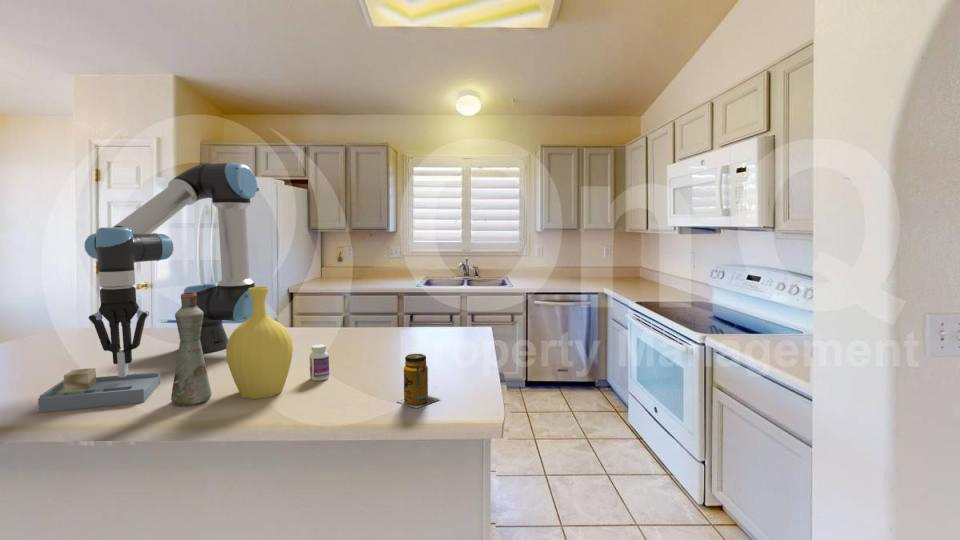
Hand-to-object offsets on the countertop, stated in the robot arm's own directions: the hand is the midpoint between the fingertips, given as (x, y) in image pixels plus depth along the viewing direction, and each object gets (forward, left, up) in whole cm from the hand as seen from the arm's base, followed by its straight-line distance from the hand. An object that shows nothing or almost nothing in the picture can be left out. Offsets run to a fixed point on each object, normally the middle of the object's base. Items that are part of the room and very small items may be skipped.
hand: (123, 375), depth 130 cm
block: (+9, 0, -2) cm, 10 cm away
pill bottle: (-49, +4, -5) cm, 49 cm away
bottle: (-18, +14, -5) cm, 23 cm away
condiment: (-72, +32, -5) cm, 79 cm away
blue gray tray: (+3, +3, -4) cm, 7 cm away
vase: (-34, +12, -5) cm, 36 cm away
